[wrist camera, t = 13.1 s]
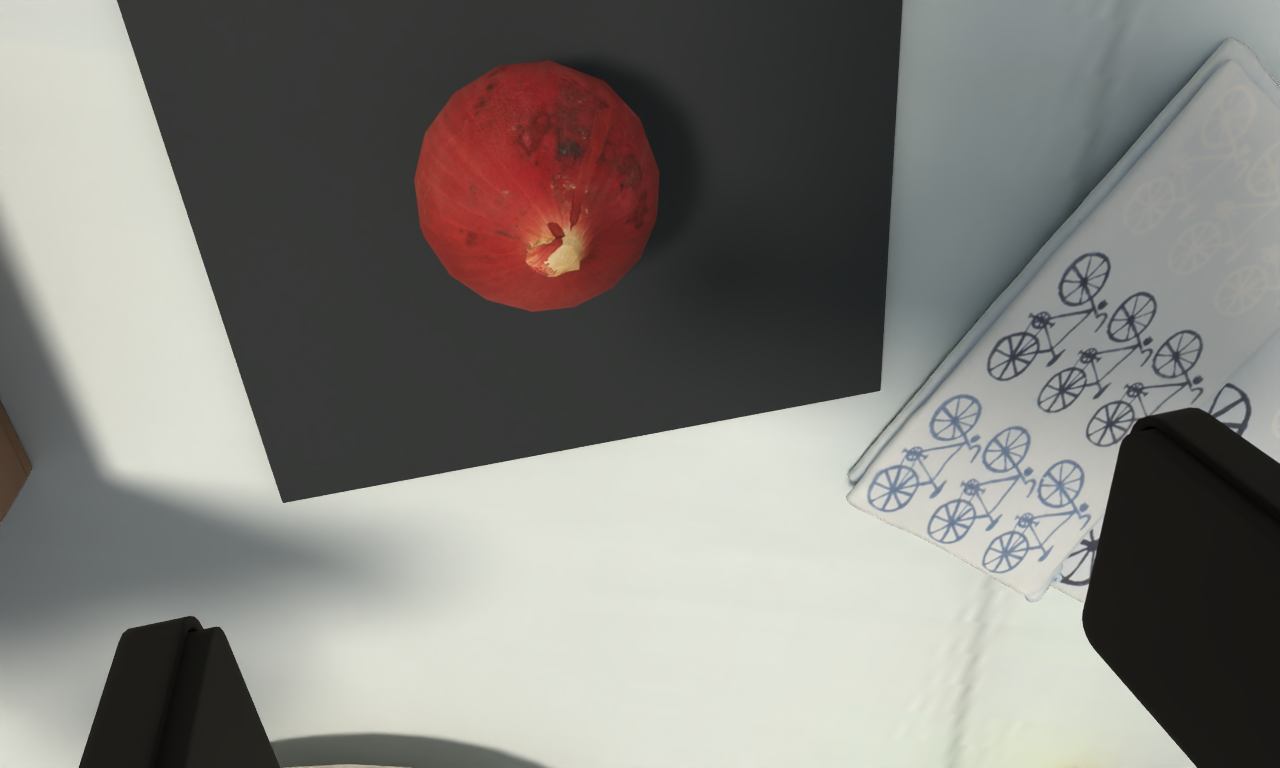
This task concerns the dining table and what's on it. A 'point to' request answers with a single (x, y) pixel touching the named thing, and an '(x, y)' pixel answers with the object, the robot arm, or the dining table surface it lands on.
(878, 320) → the mat
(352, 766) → the plate
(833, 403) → the dining table surface
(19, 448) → the chest
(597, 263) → the pomegranate
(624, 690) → the dining table surface
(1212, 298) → the bicycle print napkins
